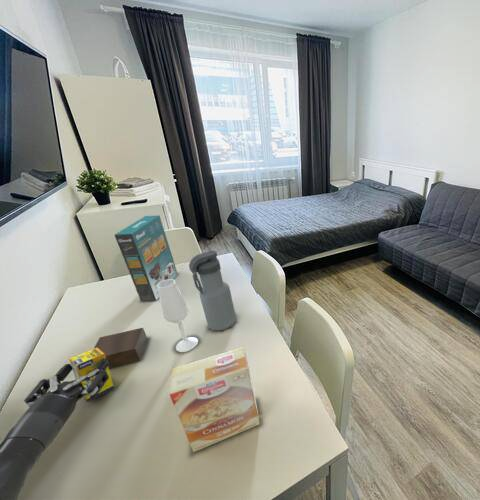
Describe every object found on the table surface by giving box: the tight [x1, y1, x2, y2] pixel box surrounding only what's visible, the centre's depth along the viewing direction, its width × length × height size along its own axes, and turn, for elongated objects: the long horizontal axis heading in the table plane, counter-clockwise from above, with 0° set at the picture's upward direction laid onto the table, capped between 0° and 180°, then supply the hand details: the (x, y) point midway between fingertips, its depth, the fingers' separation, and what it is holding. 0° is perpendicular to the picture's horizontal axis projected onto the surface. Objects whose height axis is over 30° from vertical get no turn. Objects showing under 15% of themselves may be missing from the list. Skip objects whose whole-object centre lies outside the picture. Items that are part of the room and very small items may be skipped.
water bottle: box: [188, 250, 237, 332], centre depth 93 cm, size 10×10×28 cm
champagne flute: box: [157, 278, 199, 353], centre depth 84 cm, size 7×7×24 cm
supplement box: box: [68, 347, 115, 402], centre depth 72 cm, size 6×6×11 cm
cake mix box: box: [114, 215, 178, 302], centre depth 116 cm, size 22×6×30 cm, turn 6°
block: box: [93, 327, 149, 369], centre depth 85 cm, size 12×10×5 cm
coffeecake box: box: [168, 346, 261, 453], centre depth 61 cm, size 15×7×20 cm, turn 114°
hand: (87, 363), depth 71 cm, fingers closed on supplement box, 8 cm apart
